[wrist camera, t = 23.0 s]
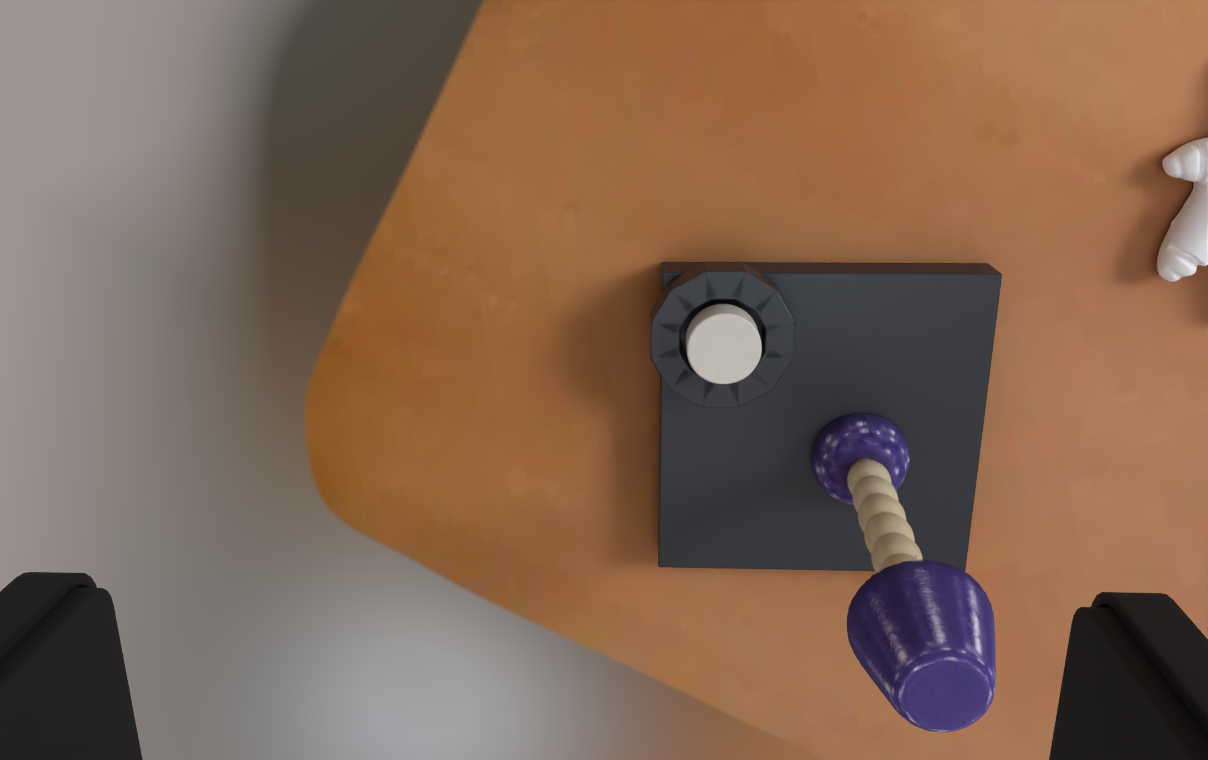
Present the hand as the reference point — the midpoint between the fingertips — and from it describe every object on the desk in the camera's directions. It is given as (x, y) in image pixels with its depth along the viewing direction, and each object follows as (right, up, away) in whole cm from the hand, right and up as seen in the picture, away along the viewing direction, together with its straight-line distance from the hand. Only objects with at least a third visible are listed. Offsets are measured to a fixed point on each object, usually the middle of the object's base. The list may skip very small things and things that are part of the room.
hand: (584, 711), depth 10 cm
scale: (+10, +2, +38) cm, 39 cm away
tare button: (+5, +5, +33) cm, 34 cm away
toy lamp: (+11, 0, +36) cm, 38 cm away
